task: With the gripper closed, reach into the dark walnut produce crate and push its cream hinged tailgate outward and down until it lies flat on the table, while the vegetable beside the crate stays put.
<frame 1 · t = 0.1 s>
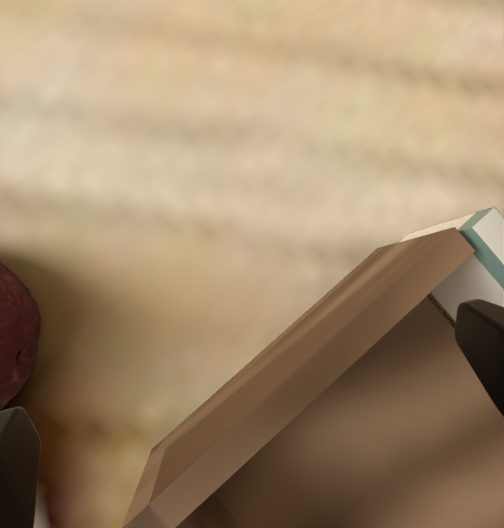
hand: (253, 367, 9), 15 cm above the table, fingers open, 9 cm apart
crate: (390, 487, 24), on the table
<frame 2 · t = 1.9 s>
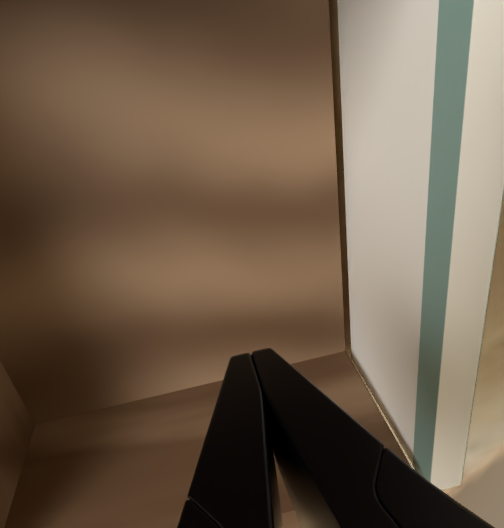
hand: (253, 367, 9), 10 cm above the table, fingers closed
crate: (133, 209, 18), on the table
tailgate: (403, 204, 15), point 4 cm above the table, hinge at 0.0°
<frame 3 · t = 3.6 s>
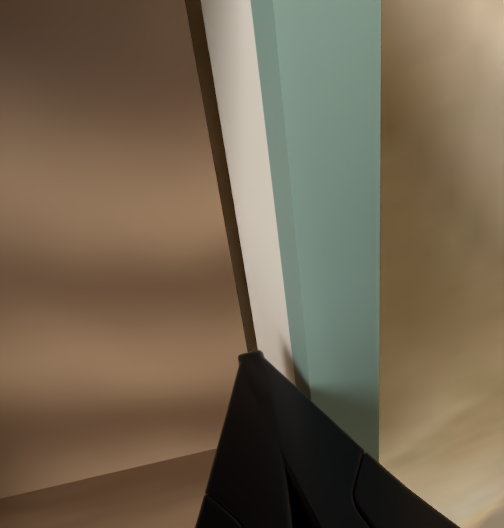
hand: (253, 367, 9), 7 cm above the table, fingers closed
tailgate: (289, 299, 11), point 4 cm above the table, hinge at 1.9°, touching gripper
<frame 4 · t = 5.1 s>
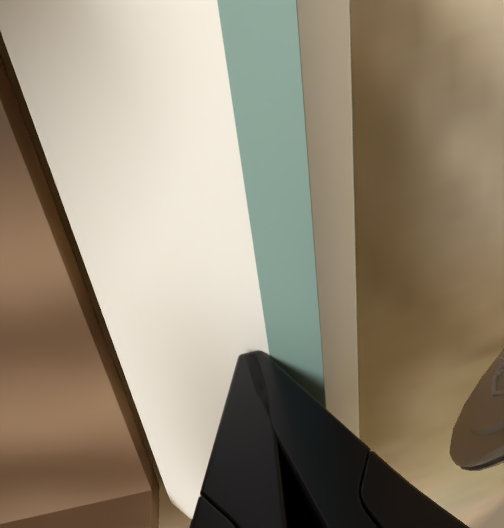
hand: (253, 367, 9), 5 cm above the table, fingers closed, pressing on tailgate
tailgate: (204, 324, 11), point 3 cm above the table, hinge at 42.0°, touching gripper
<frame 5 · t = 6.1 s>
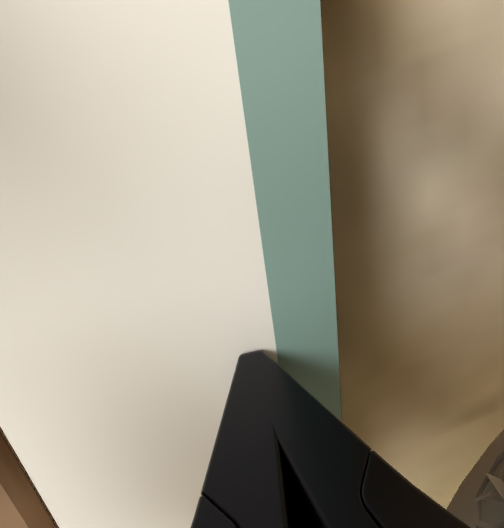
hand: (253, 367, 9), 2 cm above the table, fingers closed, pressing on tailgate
tailgate: (161, 362, 10), point 1 cm above the table, hinge at 78.1°, touching gripper
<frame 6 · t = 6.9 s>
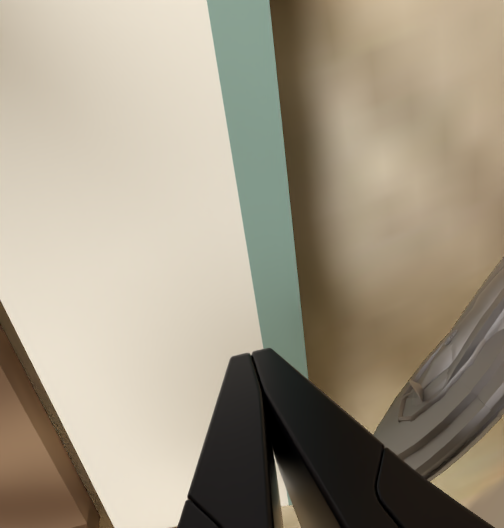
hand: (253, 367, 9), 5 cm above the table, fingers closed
tailgate: (159, 292, 12), point 1 cm above the table, hinge at 85.5°
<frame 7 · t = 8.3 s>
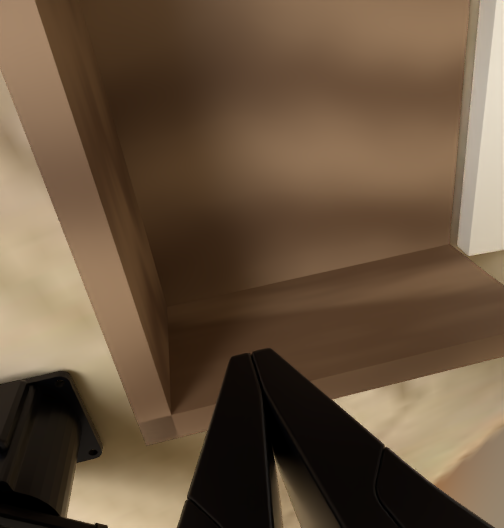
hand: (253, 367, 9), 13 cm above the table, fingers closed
crate: (276, 91, 19), on the table
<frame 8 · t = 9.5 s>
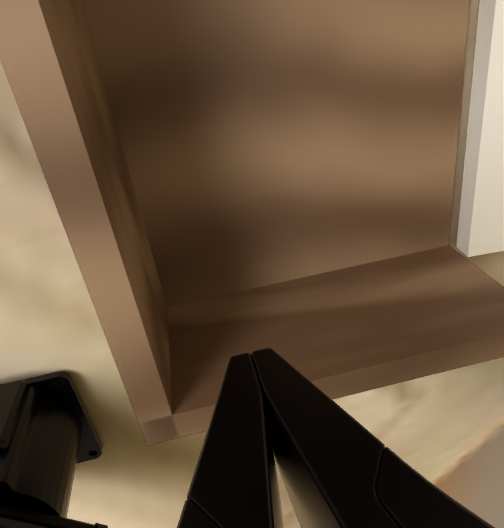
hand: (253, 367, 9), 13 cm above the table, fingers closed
crate: (277, 92, 19), on the table
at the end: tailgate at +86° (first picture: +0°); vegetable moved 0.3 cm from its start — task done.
